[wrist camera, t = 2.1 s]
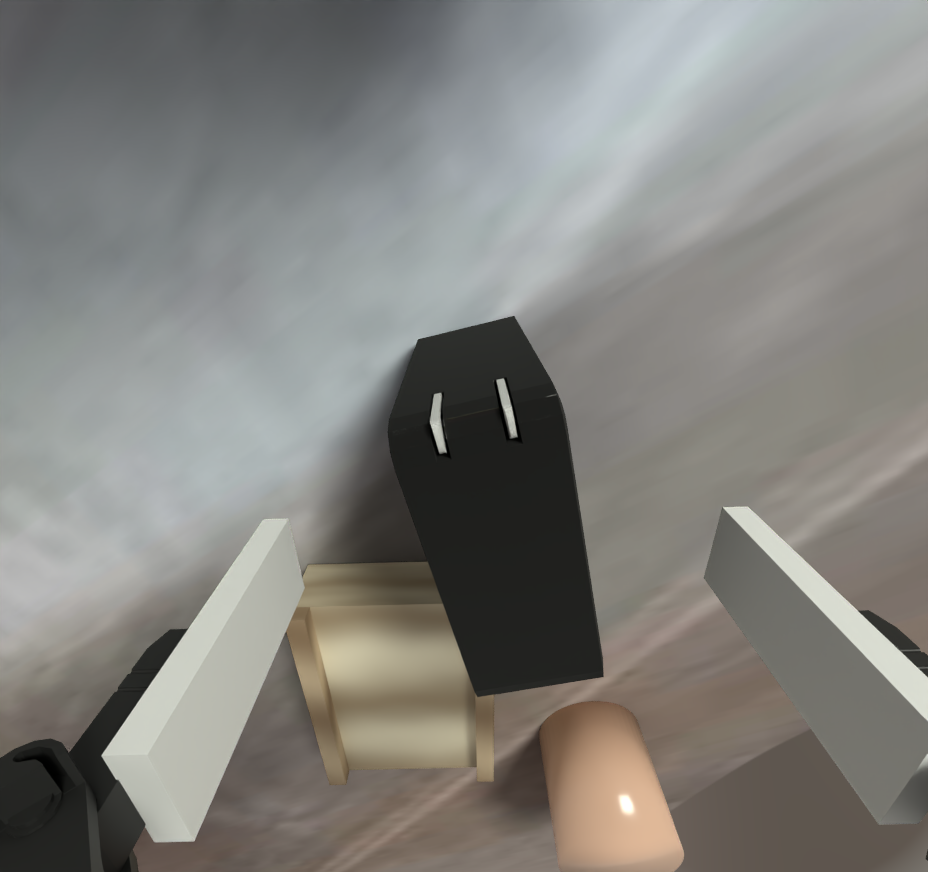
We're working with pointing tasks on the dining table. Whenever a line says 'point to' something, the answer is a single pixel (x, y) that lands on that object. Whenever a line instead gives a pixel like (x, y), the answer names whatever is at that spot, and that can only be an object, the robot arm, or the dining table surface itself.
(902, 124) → the dining table surface
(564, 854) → the peach rounded cylinder
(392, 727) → the stand
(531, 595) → the electronic device
